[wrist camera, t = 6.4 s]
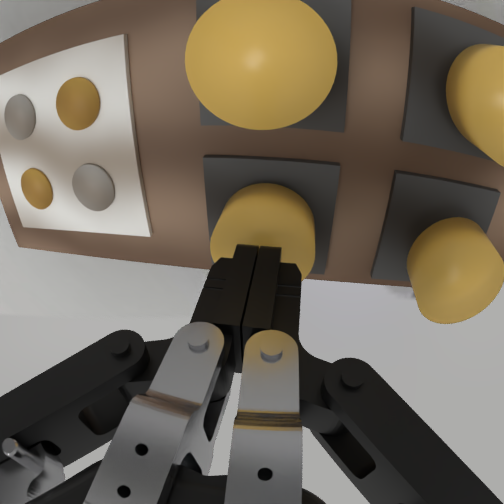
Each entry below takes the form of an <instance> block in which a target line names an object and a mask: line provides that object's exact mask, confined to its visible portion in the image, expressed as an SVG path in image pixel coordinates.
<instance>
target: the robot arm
mask: <svg viewBox="0 0 504 504" xmlns="http://www.w3.org/2000/svg"><path fill="white" fill-rule="evenodd" d="M281 254H282V247H273V246H260V248H259V245H246V244H237V246H236V249H235V252H234V255H233V258H224V257H221V258H220V259H219V260H217V261H216V262H215V263H214V264H213V265H212V266H211V268H210V271H209V274H208V276H207V280H206V281H205V284H204V288H203V289H202V292H201V295H200V297H199V300H198V303H197V305H196V308H195V311H194V313H193V316H192V319H191V321H190V323H189V324H187V325H185V326H184V327H182V328H181V329H180V330H178V332H177V333H176V334H175V336H174V337H173V338H170V339H166V340H158V341H148V342H144V340H143V338H142V337H141V336H140V335H139V334H138V333H136V332H134V331H131V330H119V331H115V332H113V333H111V334H109V335H107V336H106V337H104V338H102V339H100V340H99V341H97V342H96V343H93V344H92V345H90V346H88V347H87V348H85V349H83V350H81V351H80V352H78V353H76V354H74V355H73V356H71V357H69V358H67V359H66V360H64V361H62V362H60V363H59V364H57V365H55V366H53V367H52V368H50V369H48V370H46V371H45V372H43V373H41V374H39V375H38V376H36V377H34V378H32V379H31V380H29V381H27V382H26V383H24V384H22V385H20V386H19V387H17V388H15V389H14V390H12V391H10V392H9V393H6V394H5V395H3V396H1V397H0V504H326V503H325V502H324V501H323V500H321V499H320V498H319V497H317V496H316V495H314V494H313V493H311V492H309V491H308V490H305V489H303V488H302V426H304V427H306V428H309V429H310V430H311V432H312V434H313V435H314V436H315V438H316V439H317V440H318V441H319V443H320V444H321V445H322V447H323V448H324V449H325V450H326V451H327V453H328V454H329V455H330V456H331V458H332V459H333V460H334V461H335V462H336V464H337V465H338V466H339V467H340V468H341V470H342V471H343V472H344V473H345V475H346V476H347V477H348V478H349V479H350V481H351V482H352V483H353V484H354V485H355V487H357V489H358V490H359V491H360V492H361V493H362V495H363V496H364V497H365V498H366V499H367V500H368V502H369V503H370V504H503V503H502V502H501V501H500V500H499V499H498V498H497V497H496V496H495V495H494V494H493V493H492V491H491V490H490V489H489V488H488V487H487V486H486V485H485V484H484V483H483V482H482V481H481V480H480V479H479V478H478V477H477V476H476V475H475V474H474V473H473V472H472V471H471V470H470V469H469V468H468V466H467V465H466V464H465V463H464V462H463V461H462V460H461V459H460V458H459V457H458V456H457V455H456V454H455V453H454V452H453V451H452V450H451V449H450V448H449V447H448V446H447V445H446V444H445V443H444V441H443V440H442V439H441V438H440V437H439V436H438V435H437V434H436V433H435V432H434V431H433V430H432V429H431V428H430V427H429V426H428V425H427V424H426V423H425V422H424V421H423V420H422V419H421V418H420V417H419V416H418V414H416V413H415V411H414V410H412V408H411V407H410V406H409V405H408V404H407V403H406V402H405V401H404V400H403V399H402V398H401V397H400V396H399V395H398V394H397V393H396V392H395V391H394V390H393V389H392V388H391V387H390V386H389V385H388V384H387V383H386V381H385V380H384V379H383V378H382V377H381V376H380V375H379V374H378V373H377V372H376V371H375V370H374V369H373V368H372V367H371V366H370V365H369V364H367V363H366V362H364V361H362V360H359V359H356V358H343V359H339V360H337V361H335V362H334V363H329V362H326V361H323V360H321V359H318V358H316V357H314V356H312V355H310V354H309V353H308V352H307V351H306V350H305V349H304V348H303V347H302V345H301V343H300V341H299V335H298V332H299V316H300V299H301V280H302V274H301V272H300V270H299V268H298V266H297V265H296V263H284V262H281ZM234 372H236V373H242V376H241V385H240V395H239V404H238V411H237V416H236V417H235V420H234V426H233V433H232V442H231V450H230V459H229V468H228V475H219V476H208V473H209V470H210V467H211V463H212V458H213V448H214V443H215V440H216V437H217V434H218V430H219V427H220V424H221V421H222V418H223V415H224V412H225V409H226V405H227V402H228V399H229V396H230V388H231V384H232V380H233V375H234ZM110 440H112V441H111V443H110V445H109V447H108V450H107V452H106V454H105V456H104V458H103V459H102V460H100V461H98V462H96V463H94V464H92V465H91V466H89V467H87V468H86V469H84V470H82V471H81V472H79V473H77V474H76V475H74V476H73V477H71V478H69V479H68V480H66V481H64V480H65V474H64V473H63V467H65V466H67V465H69V464H71V463H72V462H74V461H76V460H78V459H80V458H81V457H83V456H85V455H86V454H88V453H90V452H92V451H94V450H95V449H97V448H99V447H100V446H102V445H104V444H105V443H107V442H109V441H110Z"/></svg>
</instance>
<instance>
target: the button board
mask: <svg viewBox="0 0 504 504" xmlns="http://www.w3.org/2000/svg"><path fill="white" fill-rule="evenodd" d="M219 1H220V0H100V1H97V2H94V3H91V4H88V5H85V6H82V7H79V8H76V9H74V10H71V11H68V12H66V13H63V14H61V15H58V16H56V17H53V18H51V19H49V20H46V21H44V22H42V23H39V24H37V25H35V26H33V27H31V28H29V29H27V30H25V31H22V32H20V33H18V34H17V35H15V36H13V37H11V38H9V39H7V40H5V41H3V42H1V43H0V199H1V202H2V204H3V207H4V210H5V213H6V216H7V218H8V221H9V224H10V226H11V229H12V232H13V234H14V237H15V239H16V242H17V244H18V246H19V247H24V248H31V249H38V250H46V251H54V252H61V253H69V254H77V255H85V256H93V257H102V258H110V259H118V260H127V261H136V262H144V263H153V264H162V265H171V266H181V267H190V268H200V269H209V270H210V268H211V266H212V265H213V264H214V261H213V259H212V256H211V251H210V241H211V236H212V233H213V231H214V229H215V227H216V224H217V222H218V220H219V218H220V216H221V214H222V211H223V209H224V207H225V205H226V203H227V202H228V200H229V199H230V198H231V197H232V196H233V195H234V194H235V193H236V192H238V191H239V190H241V189H242V188H244V187H247V186H250V185H253V184H259V183H271V184H277V185H281V186H284V187H286V188H289V189H291V190H292V191H294V192H296V193H297V194H298V195H300V196H301V197H302V198H303V199H304V200H305V202H306V203H307V204H308V206H309V207H310V209H311V211H312V214H313V217H314V223H315V260H314V264H313V267H312V269H311V271H310V272H309V274H308V275H307V276H306V278H305V279H315V280H327V281H340V282H353V283H364V284H377V285H390V286H404V287H412V284H411V281H410V278H409V275H408V272H407V258H408V254H409V251H410V249H411V247H412V245H413V243H414V242H415V240H416V239H417V238H418V236H419V235H420V234H421V233H422V232H423V231H424V230H426V229H427V228H428V227H430V226H431V225H433V224H434V223H436V222H439V221H441V220H444V219H447V218H452V217H462V218H467V219H470V220H472V221H474V222H475V223H477V224H478V225H479V226H480V227H481V229H482V230H483V231H484V233H485V234H486V236H487V237H488V239H489V240H490V241H491V243H492V244H493V246H494V247H495V249H496V250H497V252H498V253H499V255H500V256H501V258H502V260H503V262H504V167H503V166H501V165H499V164H498V163H497V162H495V161H494V160H493V159H492V158H490V157H489V156H488V155H487V154H485V153H484V152H483V151H481V150H480V149H479V148H478V147H476V146H475V145H474V144H472V143H471V142H469V141H468V140H467V139H466V138H465V137H464V136H463V135H462V134H461V133H460V132H459V130H458V129H457V127H456V126H455V124H454V122H453V120H452V118H451V115H450V113H449V109H448V105H447V99H446V82H447V76H448V73H449V70H450V67H451V65H452V63H453V62H454V60H455V58H456V57H457V56H458V55H459V54H460V53H461V52H462V51H463V50H465V49H466V48H468V47H470V46H473V45H477V44H490V45H499V46H504V25H502V24H500V23H498V22H495V21H493V20H491V19H489V18H486V17H484V16H482V15H479V14H477V13H474V12H472V11H469V10H466V9H464V8H461V7H458V6H455V5H453V4H450V3H447V2H444V1H441V0H300V1H302V2H304V3H305V4H307V5H308V6H309V7H311V8H312V9H313V10H314V11H315V12H316V13H317V14H318V15H319V16H320V17H321V18H322V19H323V21H324V22H325V23H326V25H327V26H328V28H329V30H330V32H331V34H332V36H333V39H334V42H335V45H336V51H337V71H336V76H335V80H334V83H333V85H332V88H331V90H330V92H329V94H328V95H327V97H326V98H325V100H324V101H323V102H322V103H321V105H320V106H319V107H318V108H317V109H316V110H315V111H314V112H312V113H311V114H310V115H308V116H307V117H306V118H304V119H302V120H300V121H298V122H297V123H294V124H292V125H289V126H286V127H282V128H278V129H271V130H253V129H246V128H242V127H238V126H235V125H232V124H230V123H228V122H226V121H223V120H222V119H220V118H218V117H217V116H215V115H214V114H213V113H211V112H210V111H209V110H208V109H207V108H206V107H205V106H204V105H203V104H202V103H201V102H200V100H199V99H198V98H197V96H196V95H195V93H194V91H193V90H192V88H191V86H190V83H189V81H188V77H187V73H186V68H185V51H186V45H187V41H188V38H189V35H190V33H191V31H192V29H193V27H194V25H195V24H196V22H197V21H198V19H199V18H200V17H201V16H202V15H203V14H204V13H205V12H206V11H207V10H208V9H209V8H210V7H211V6H213V5H214V4H216V3H217V2H219Z"/></svg>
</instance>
